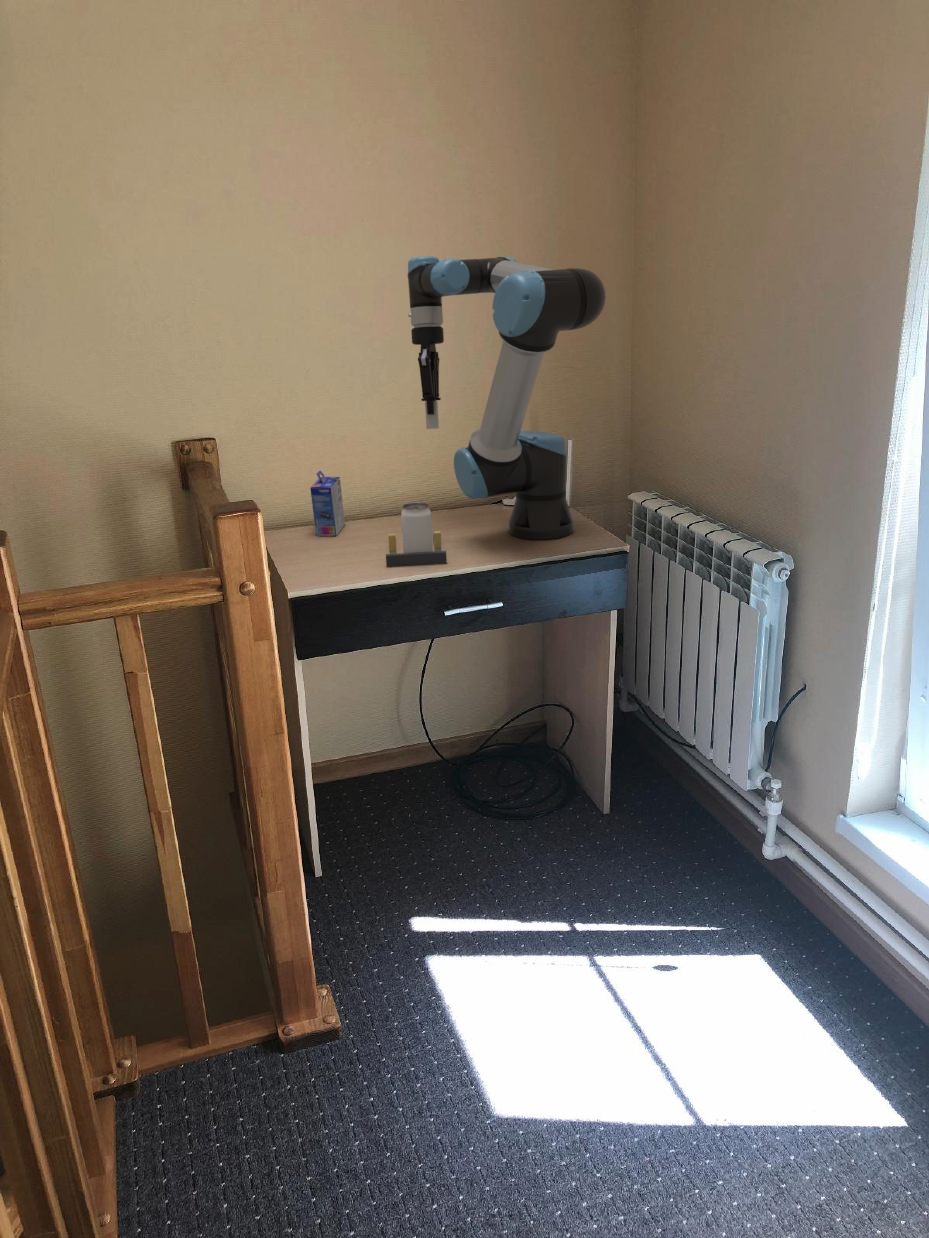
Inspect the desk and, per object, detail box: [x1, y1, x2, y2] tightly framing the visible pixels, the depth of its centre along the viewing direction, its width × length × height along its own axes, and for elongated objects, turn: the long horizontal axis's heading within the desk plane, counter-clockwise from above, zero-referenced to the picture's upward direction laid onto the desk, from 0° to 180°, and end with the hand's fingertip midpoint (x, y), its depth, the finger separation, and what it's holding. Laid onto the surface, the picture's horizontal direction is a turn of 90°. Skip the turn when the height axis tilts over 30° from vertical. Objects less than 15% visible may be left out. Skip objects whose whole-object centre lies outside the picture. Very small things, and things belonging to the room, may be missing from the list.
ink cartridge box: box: [309, 470, 346, 537], centre depth 246 cm, size 10×6×14 cm, turn 174°
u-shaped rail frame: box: [385, 530, 448, 568], centre depth 229 cm, size 13×19×5 cm
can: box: [400, 502, 434, 553], centre depth 223 cm, size 6×6×12 cm
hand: (432, 428), depth 246 cm, fingers closed
